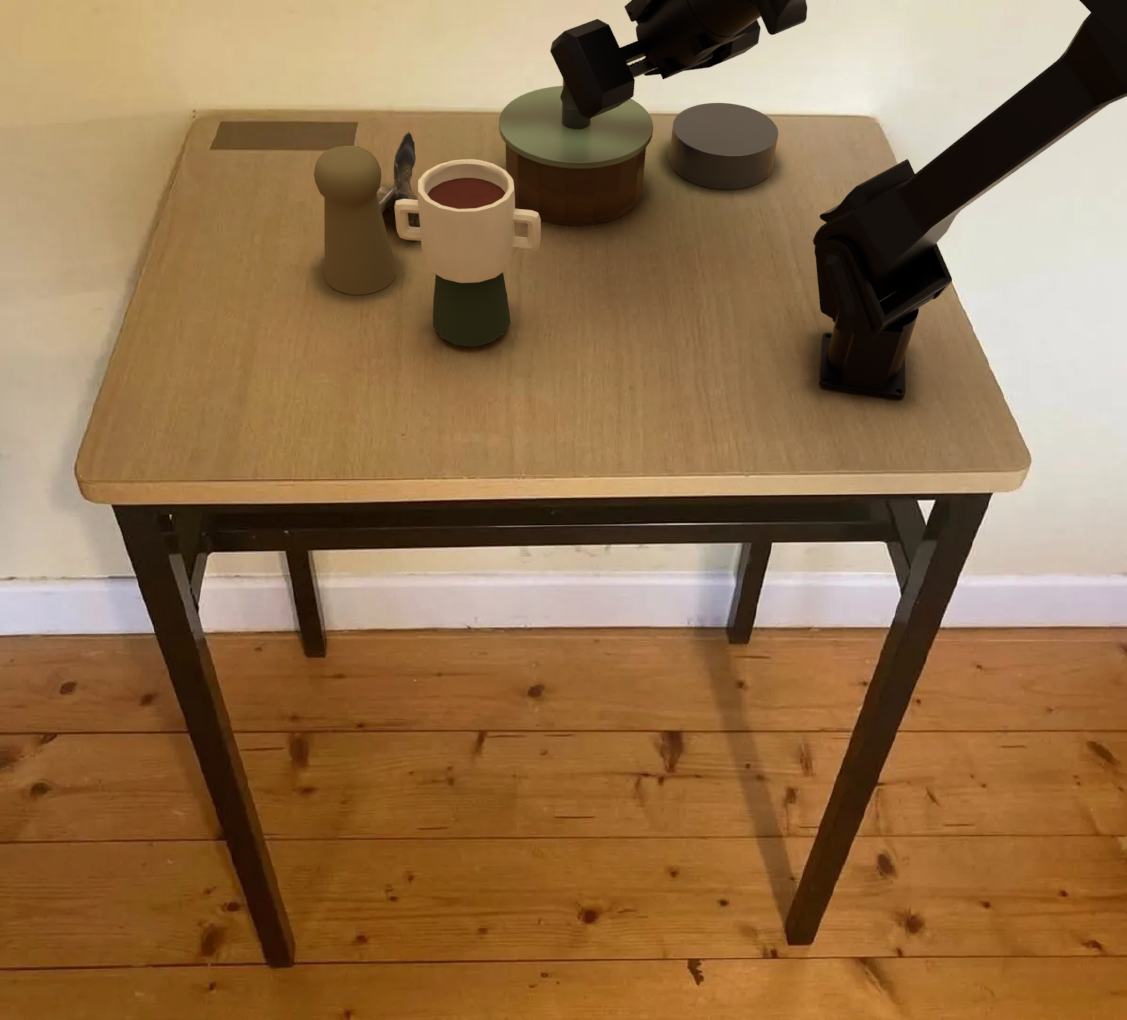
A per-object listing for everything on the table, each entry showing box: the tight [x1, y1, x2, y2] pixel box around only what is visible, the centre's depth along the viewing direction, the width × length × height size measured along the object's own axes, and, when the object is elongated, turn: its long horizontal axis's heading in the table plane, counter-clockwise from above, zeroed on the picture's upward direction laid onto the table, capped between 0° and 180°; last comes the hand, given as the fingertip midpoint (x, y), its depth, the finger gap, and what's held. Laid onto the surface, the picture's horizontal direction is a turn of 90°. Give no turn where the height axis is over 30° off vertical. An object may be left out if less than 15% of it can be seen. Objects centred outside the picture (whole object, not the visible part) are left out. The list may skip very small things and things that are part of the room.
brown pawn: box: [313, 145, 397, 296], centre depth 91 cm, size 6×6×11 cm
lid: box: [498, 78, 654, 169], centre depth 98 cm, size 14×14×6 cm
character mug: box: [394, 158, 542, 348], centre depth 85 cm, size 11×7×13 cm, turn 83°
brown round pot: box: [504, 142, 647, 226], centre depth 102 cm, size 13×13×6 cm
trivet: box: [669, 102, 779, 190], centre depth 107 cm, size 10×10×4 cm
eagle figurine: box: [377, 131, 420, 243], centre depth 98 cm, size 8×7×9 cm
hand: (604, 85), depth 95 cm, fingers open, 9 cm apart
